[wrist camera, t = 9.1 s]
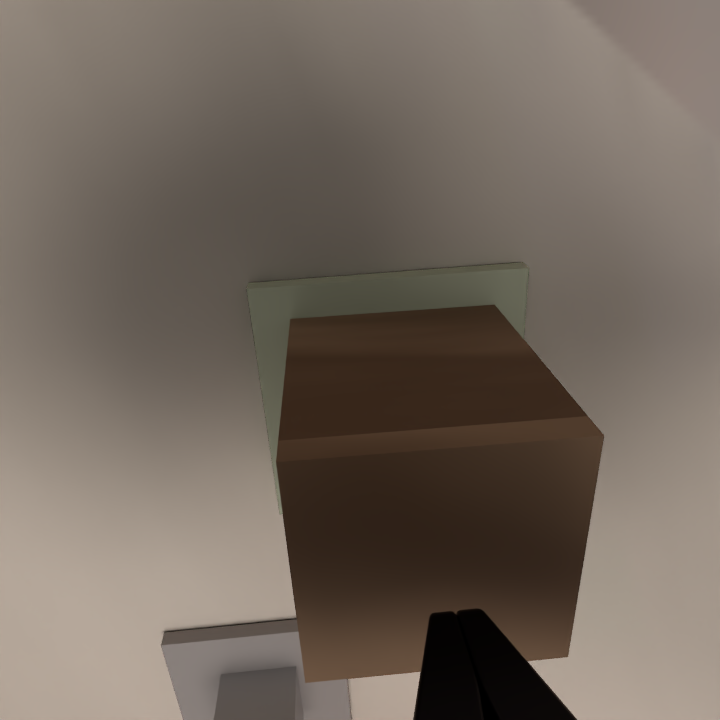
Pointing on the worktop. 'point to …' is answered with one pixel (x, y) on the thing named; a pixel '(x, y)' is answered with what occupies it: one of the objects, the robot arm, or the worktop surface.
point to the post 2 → (368, 311)
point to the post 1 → (248, 675)
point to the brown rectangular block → (428, 486)
